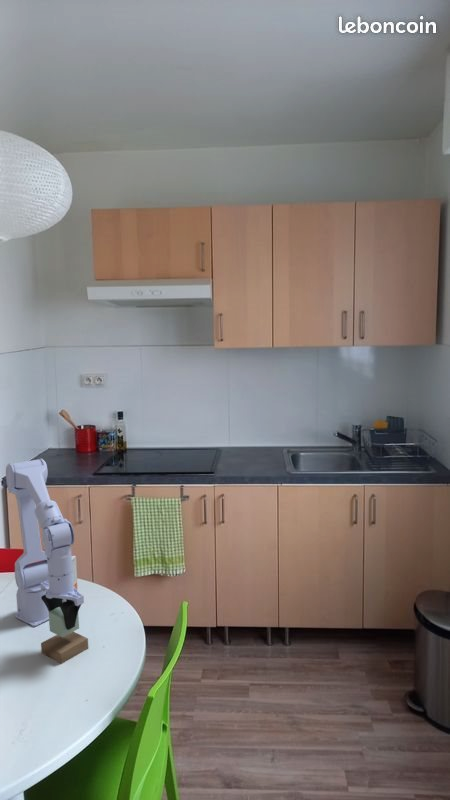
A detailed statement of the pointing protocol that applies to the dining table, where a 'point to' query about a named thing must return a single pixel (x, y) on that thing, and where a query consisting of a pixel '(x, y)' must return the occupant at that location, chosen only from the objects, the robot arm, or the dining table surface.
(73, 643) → the walnut block
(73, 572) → the skincare box
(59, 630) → the sage cube
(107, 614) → the dining table surface
